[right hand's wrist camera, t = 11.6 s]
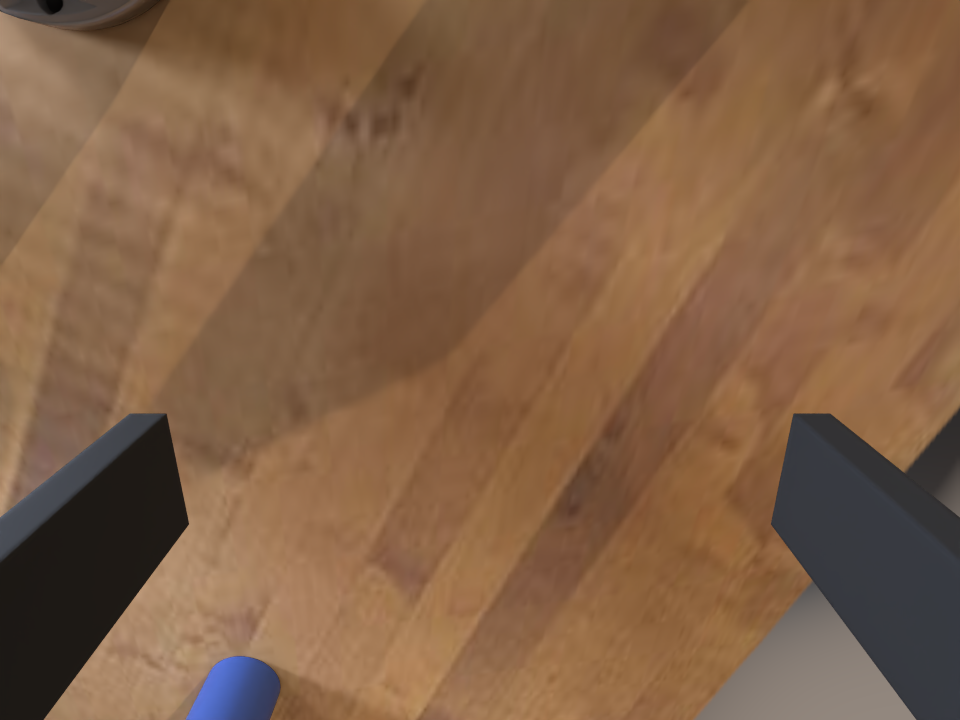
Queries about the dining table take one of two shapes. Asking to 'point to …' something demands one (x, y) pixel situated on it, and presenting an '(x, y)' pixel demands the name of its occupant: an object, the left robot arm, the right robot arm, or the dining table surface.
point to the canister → (237, 691)
